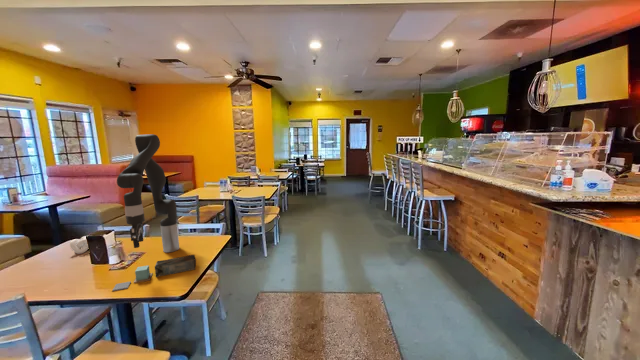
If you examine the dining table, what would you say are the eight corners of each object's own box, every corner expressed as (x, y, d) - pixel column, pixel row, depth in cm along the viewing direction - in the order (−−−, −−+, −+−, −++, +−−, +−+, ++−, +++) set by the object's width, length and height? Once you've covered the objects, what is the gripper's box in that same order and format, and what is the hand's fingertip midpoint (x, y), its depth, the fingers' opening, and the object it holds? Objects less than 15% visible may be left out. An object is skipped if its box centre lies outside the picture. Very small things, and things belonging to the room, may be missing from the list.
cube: (138, 276, 140) (137, 267, 140) (149, 274, 142) (148, 265, 141) (136, 280, 136) (135, 271, 135) (147, 278, 138) (146, 269, 137)
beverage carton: (157, 270, 147) (156, 259, 146) (196, 264, 155) (195, 253, 154) (155, 277, 140) (154, 265, 139) (196, 270, 148) (194, 258, 147)
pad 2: (137, 276, 141) (137, 275, 141) (152, 274, 143) (152, 273, 143) (133, 283, 134) (133, 282, 134) (149, 280, 137) (149, 279, 137)
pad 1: (116, 285, 133) (116, 283, 133) (130, 282, 135) (130, 281, 135) (112, 291, 128) (112, 290, 128) (127, 288, 130) (127, 287, 130)
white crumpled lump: (80, 256, 168) (78, 242, 167) (64, 255, 170) (62, 241, 169) (98, 248, 179) (96, 235, 178) (83, 248, 181) (80, 235, 180)
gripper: (129, 210, 139) (133, 240, 142) (121, 218, 126) (126, 251, 129) (146, 209, 142) (150, 238, 144) (140, 216, 129) (144, 248, 131)
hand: (138, 244), depth 136 cm, fingers open, 8 cm apart
